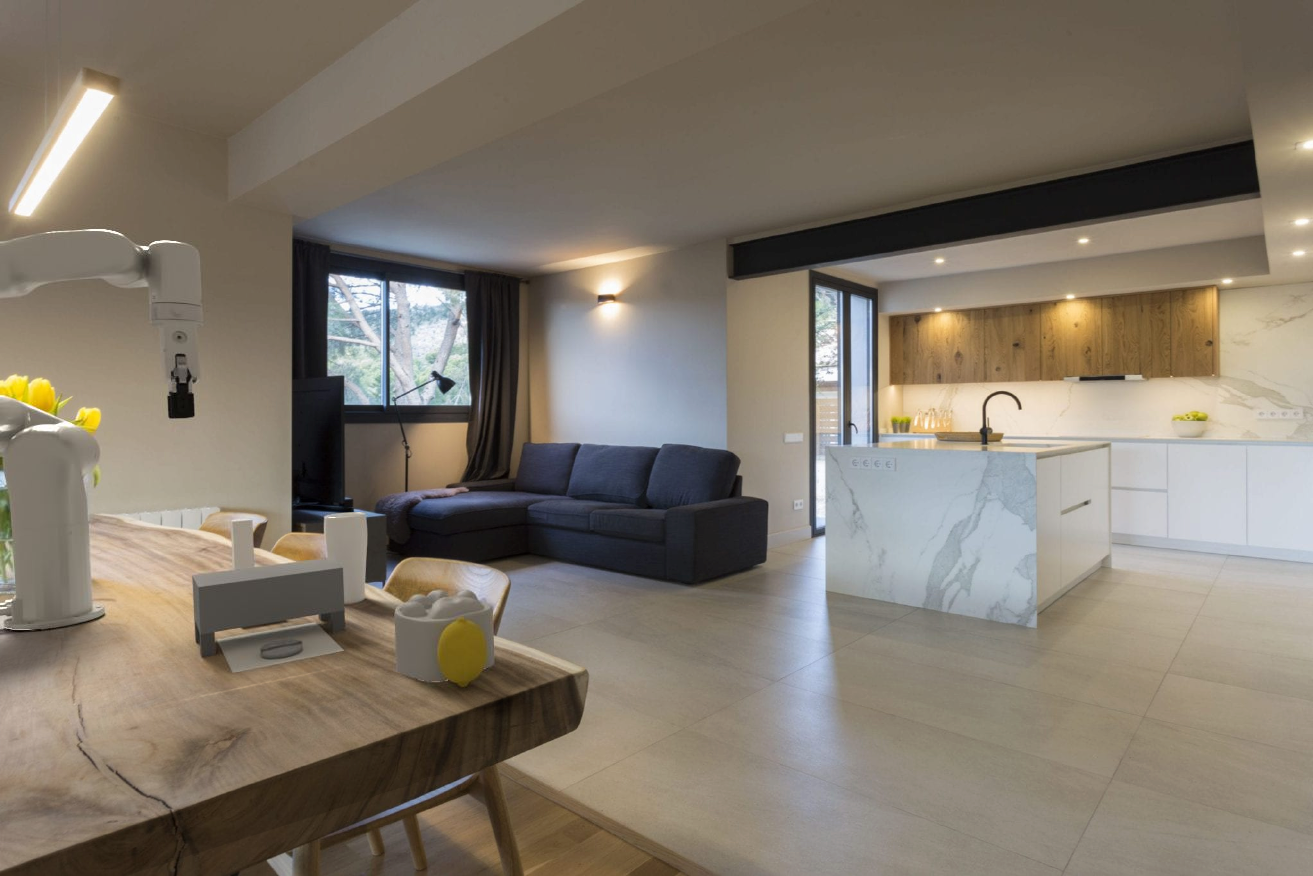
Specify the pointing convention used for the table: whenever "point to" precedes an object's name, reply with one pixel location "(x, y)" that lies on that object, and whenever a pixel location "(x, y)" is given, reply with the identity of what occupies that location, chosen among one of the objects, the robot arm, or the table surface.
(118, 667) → the table surface
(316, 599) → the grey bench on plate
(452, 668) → the lemon
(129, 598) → the table surface
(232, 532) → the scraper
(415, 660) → the lumpy-topped squat cylinder
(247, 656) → the mat
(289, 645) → the disc
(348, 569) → the drinking glass
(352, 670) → the table surface
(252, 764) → the table surface
